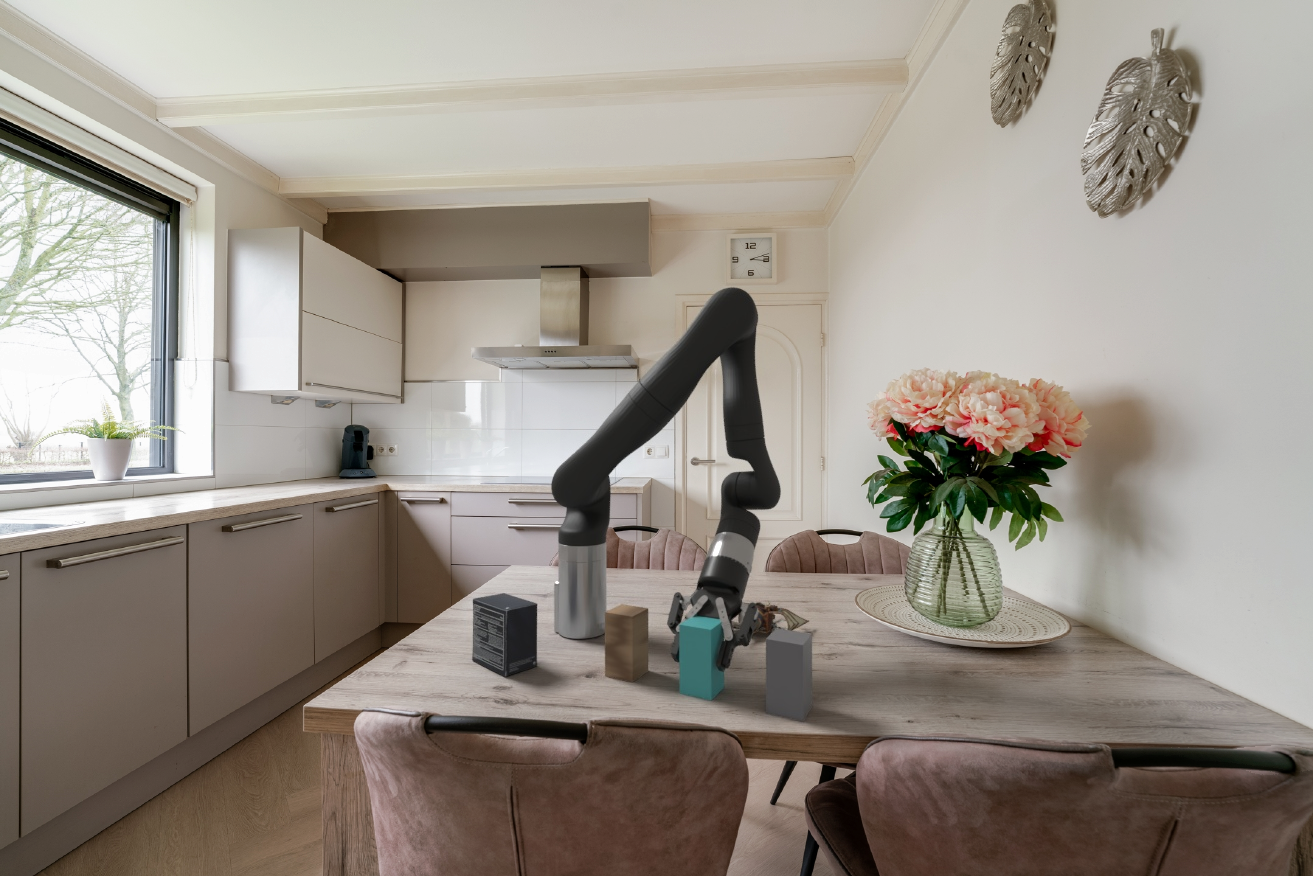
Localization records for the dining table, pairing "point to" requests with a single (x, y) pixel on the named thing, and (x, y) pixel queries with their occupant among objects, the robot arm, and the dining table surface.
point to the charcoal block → (789, 674)
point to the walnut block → (626, 642)
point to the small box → (504, 633)
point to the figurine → (771, 618)
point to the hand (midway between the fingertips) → (697, 664)
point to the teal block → (700, 657)
